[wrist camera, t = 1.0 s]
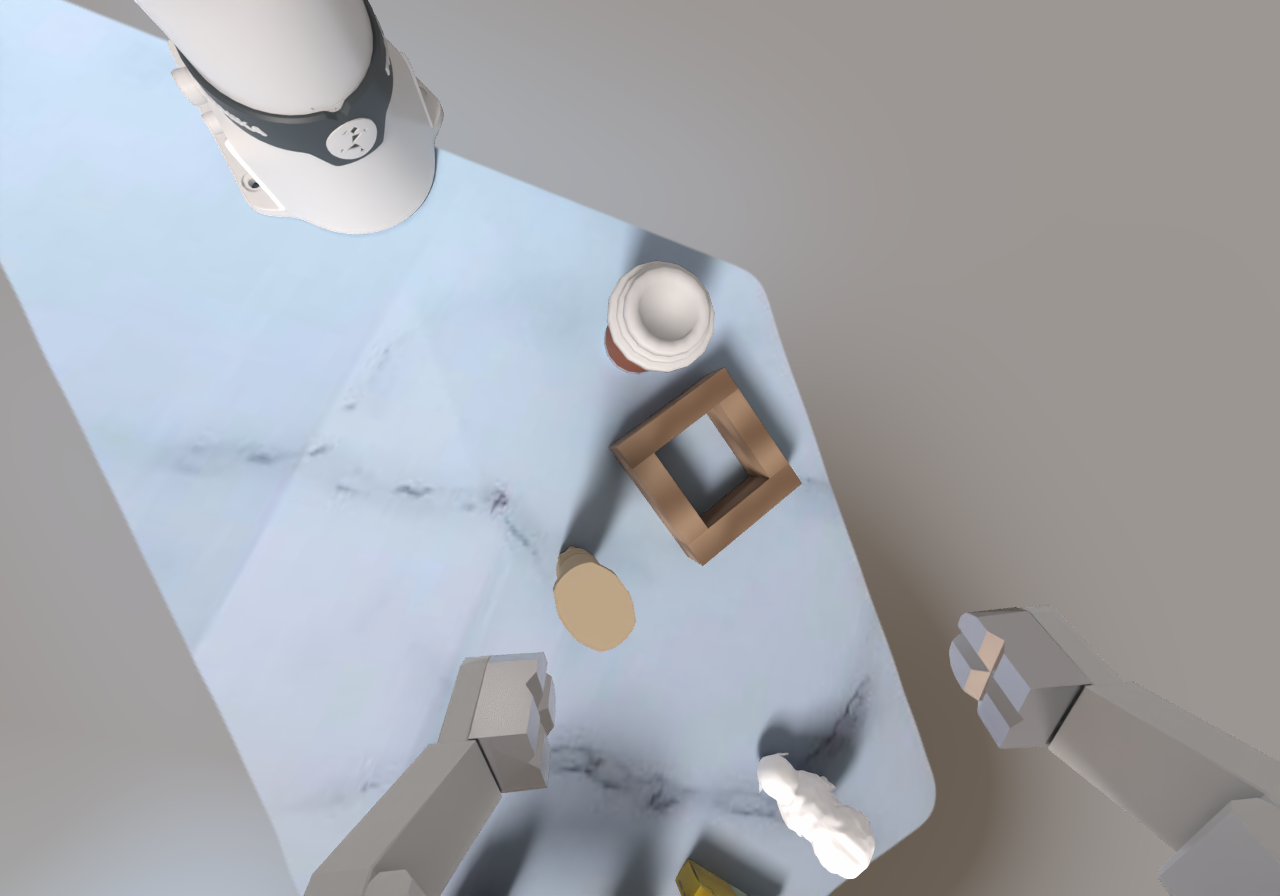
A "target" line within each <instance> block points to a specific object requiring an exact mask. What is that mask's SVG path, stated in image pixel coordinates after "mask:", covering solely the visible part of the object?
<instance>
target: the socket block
mask: <svg viewBox="0 0 1280 896" xmlns="http://www.w3.org/2000/svg"><path fill="white" fill-rule="evenodd" d="M706 413H707V415H708V416H709V418H710V419H711V420H712V422H713V423H714V425H715V426H716V428H717V429H718V431H719V432H720V434H721V435H722V437H723V438H724V439H725V441H726V442H727V444H728V445H729V447H730V448H731V450H732V451H733V453H734V454H735V456H736V457H737V458H738V460H739V461H740V463H741V464H742V466H743V467H744V469H745V470H746V472H747V473H748V475H749V476H750V477H748V478H747V479H746V480H745V481H743V482H742V483H741V484H740V485H738V486H737V487H736V488H735V489H733V490H732V491H731V492H730V493H728V494H727V495H726V496H725V497H724V498H722V499H721V500H720V501H719V502H717V503H716V504H715V505H714V506H712V507H711V508H710V509H709V510H707V511H706V512H705V513H704V514H703V515H701V516H700V517H699V515H698V514H697V512H696V511H695V510H694V508H693V507H692V505H691V504H690V503H689V501H688V500H687V498H686V497H685V496H684V494H683V493H682V491H681V490H680V488H679V487H678V486H677V484H676V483H675V481H674V480H673V479H672V477H671V476H670V474H669V473H668V472H667V470H666V469H665V467H664V466H663V465H662V463H661V462H660V460H659V459H658V457H657V456H656V455H655V452H656V451H657V450H658V449H660V448H661V447H662V446H664V445H665V444H666V443H668V442H669V441H670V440H672V439H673V438H674V437H676V436H677V435H678V434H680V433H681V432H682V431H684V430H685V429H686V428H687V427H689V426H690V425H691V424H693V423H694V422H695V421H697V420H698V419H699V418H701V417H702V416H703V415H705V414H706ZM609 448H610V450H611V451H612V453H613V454H614V455H615V457H616V458H617V459H618V461H619V462H620V464H621V465H622V466H623V468H624V469H625V470H626V472H627V473H628V475H629V476H630V477H631V479H632V480H633V482H634V483H635V484H636V486H637V487H638V488H639V490H640V491H641V493H642V494H643V495H644V497H645V498H646V500H647V501H648V502H649V504H650V505H651V506H652V508H653V509H654V511H655V512H656V513H657V515H658V516H659V518H660V519H661V520H662V522H663V523H664V524H665V526H666V527H667V529H668V530H669V531H670V533H671V534H672V536H673V537H674V538H675V540H676V541H677V542H678V544H679V545H680V547H681V548H682V549H683V551H684V552H685V554H686V555H687V556H688V557H689V558H691V559H693V560H694V561H696V562H697V563H699V564H701V565H702V566H703V565H705V564H706V563H707V562H708V561H709V560H711V559H712V558H713V557H714V556H715V555H717V554H718V553H719V552H720V551H721V550H723V549H724V548H725V547H726V546H727V545H729V544H730V543H731V542H732V541H733V540H735V539H736V538H737V537H738V536H739V535H741V534H742V533H743V532H744V531H745V530H747V529H748V528H749V527H750V526H751V525H753V524H754V523H755V522H756V521H757V520H759V519H760V518H761V517H762V516H763V515H765V514H766V513H767V512H768V511H769V510H771V509H772V508H773V507H774V506H775V505H777V504H778V503H779V502H780V501H781V500H783V499H784V498H785V497H786V496H787V495H789V494H790V493H791V492H792V491H793V490H795V489H796V488H797V487H798V486H799V485H801V484H802V483H801V481H800V480H799V478H798V477H797V475H796V474H795V472H794V471H793V469H792V468H791V466H790V465H789V463H788V462H787V460H786V459H785V457H784V456H783V454H782V453H781V451H780V450H779V448H778V447H777V445H776V444H775V442H774V441H773V439H772V438H771V436H770V435H769V433H768V432H767V430H766V429H765V428H764V426H763V425H762V423H761V422H760V420H759V419H758V417H757V416H756V414H755V413H754V411H753V410H752V408H751V407H750V405H749V404H748V402H747V401H746V399H745V398H744V396H743V395H742V393H741V392H740V390H739V389H738V387H737V386H736V384H735V383H734V381H733V380H732V378H731V377H730V375H729V374H728V372H727V371H726V369H725V368H721V369H719V370H717V371H714V372H712V373H709V374H707V375H706V376H705V377H703V378H702V379H700V380H699V381H698V382H696V383H695V384H694V385H692V386H691V387H690V388H688V389H687V390H686V391H684V392H683V393H682V394H680V395H679V396H678V397H676V398H675V399H673V400H672V401H671V402H669V403H668V404H667V405H665V406H664V407H663V408H661V409H660V410H659V411H657V412H656V413H655V414H653V415H652V416H651V417H649V418H648V419H646V420H645V421H644V422H642V423H641V424H640V425H638V426H637V427H636V428H634V429H633V430H632V431H630V432H629V433H628V434H626V435H625V436H624V437H622V438H621V439H619V440H618V441H617V442H615V443H614V444H613V445H611V446H610V447H609Z"/></svg>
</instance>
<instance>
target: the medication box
mask: <svg viewBox="0 0 1280 896" xmlns="http://www.w3.org/2000/svg"><path fill="white" fill-rule="evenodd" d="M675 881H676V884H677V886H678V889H679V891H680V894H681V896H748V895H747V894H745V893H744V892H742V891H740V890H739V889H737V888H735V887H734V886H732V885H731V884H729V883H727V882H726V881H724V880H723V879H721V878H719V877H718V876H716V875H714V874H713V873H711V872H710V871H708V870H706V869H705V868H703V867H701V866H700V865H698V864H696V863H695V862H693V861H692V860H690V859H687V861H686V863H685V864H684V865H683V867H682V868H681V870H680V872H679V874H678V876H677V878H676V880H675Z"/></svg>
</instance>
